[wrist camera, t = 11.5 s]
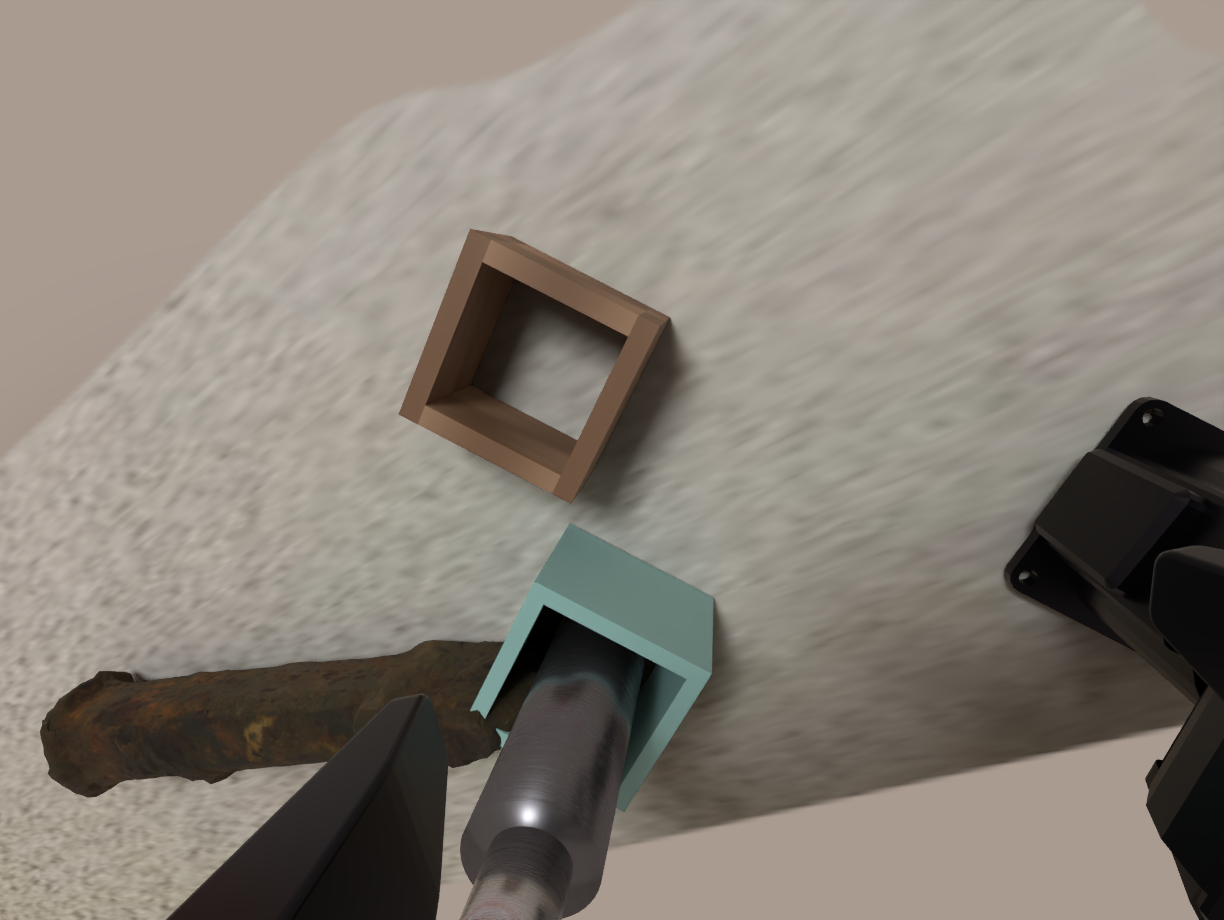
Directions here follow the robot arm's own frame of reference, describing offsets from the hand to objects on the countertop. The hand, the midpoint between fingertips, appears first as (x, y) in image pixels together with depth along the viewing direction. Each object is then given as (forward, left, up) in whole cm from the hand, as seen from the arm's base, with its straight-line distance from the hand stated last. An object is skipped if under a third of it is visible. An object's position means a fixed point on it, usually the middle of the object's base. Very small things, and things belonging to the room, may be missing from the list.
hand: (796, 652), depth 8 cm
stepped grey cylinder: (+1, +8, -13) cm, 16 cm away
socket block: (+6, +1, -13) cm, 15 cm away
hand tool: (+9, +15, -13) cm, 22 cm away
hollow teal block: (+1, +9, -13) cm, 16 cm away
